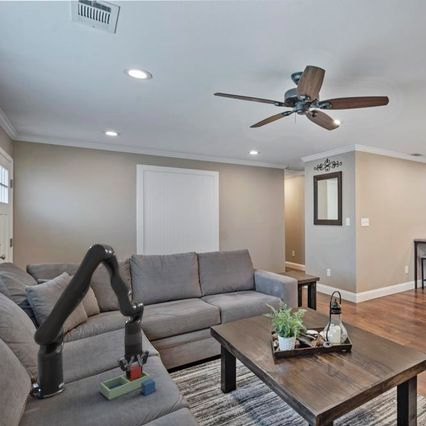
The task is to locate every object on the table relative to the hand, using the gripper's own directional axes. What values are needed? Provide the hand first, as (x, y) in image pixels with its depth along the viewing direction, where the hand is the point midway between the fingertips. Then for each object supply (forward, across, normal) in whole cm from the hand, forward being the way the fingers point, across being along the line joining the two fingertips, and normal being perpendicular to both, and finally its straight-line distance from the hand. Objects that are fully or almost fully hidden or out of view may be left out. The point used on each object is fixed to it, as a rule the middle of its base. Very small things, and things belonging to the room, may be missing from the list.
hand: (134, 375), depth 159 cm
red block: (0, 0, 0) cm, 0 cm away
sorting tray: (+4, +4, 0) cm, 6 cm away
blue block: (+4, -1, +13) cm, 14 cm away
